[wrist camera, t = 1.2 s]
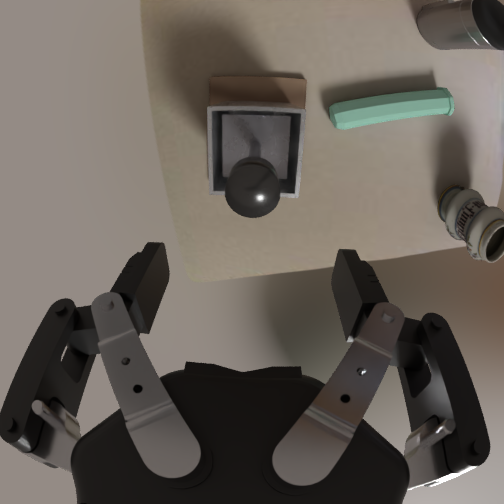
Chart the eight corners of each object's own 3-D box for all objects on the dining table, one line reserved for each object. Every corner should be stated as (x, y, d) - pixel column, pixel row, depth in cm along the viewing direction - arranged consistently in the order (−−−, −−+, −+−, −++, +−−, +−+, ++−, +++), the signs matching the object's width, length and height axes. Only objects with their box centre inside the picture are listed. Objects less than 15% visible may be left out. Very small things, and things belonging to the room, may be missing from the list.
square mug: (222, 101, 41) (204, 106, 27) (290, 103, 40) (305, 109, 27) (223, 174, 48) (208, 212, 35) (285, 176, 48) (296, 215, 35)
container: (338, 130, 38) (458, 111, 33) (325, 97, 37) (446, 82, 32) (333, 137, 44) (444, 118, 39) (323, 107, 43) (434, 91, 38)
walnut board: (210, 77, 39) (209, 76, 38) (305, 79, 39) (306, 79, 38) (212, 182, 50) (211, 184, 49) (297, 185, 50) (298, 187, 49)
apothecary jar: (475, 185, 47) (523, 222, 32) (460, 229, 53) (500, 272, 38) (442, 174, 46) (494, 212, 31) (427, 223, 53) (468, 270, 38)
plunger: (223, 114, 31) (192, 136, 17) (290, 116, 31) (316, 139, 17) (223, 175, 36) (198, 241, 22) (286, 177, 36) (303, 244, 22)
